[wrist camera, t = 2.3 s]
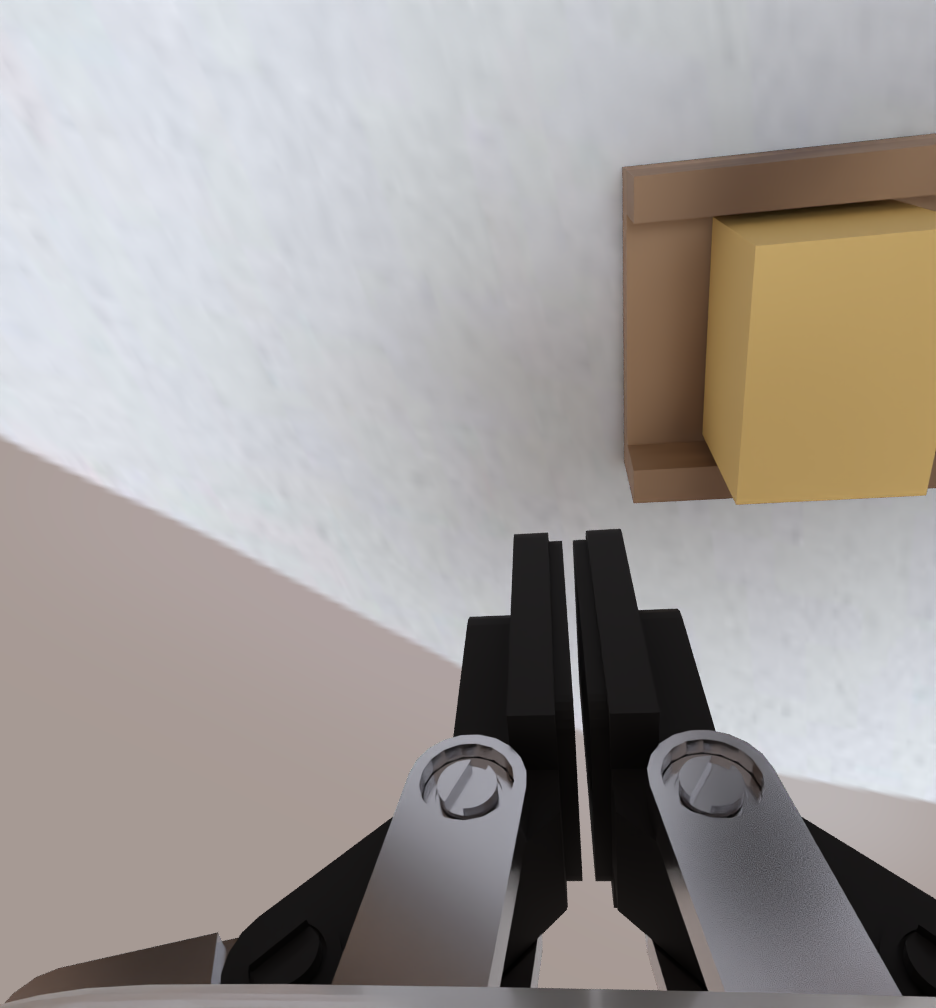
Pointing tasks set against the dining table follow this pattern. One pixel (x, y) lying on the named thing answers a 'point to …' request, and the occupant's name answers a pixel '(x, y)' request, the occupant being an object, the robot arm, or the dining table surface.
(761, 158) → the wooden tray
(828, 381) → the block
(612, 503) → the dining table surface
